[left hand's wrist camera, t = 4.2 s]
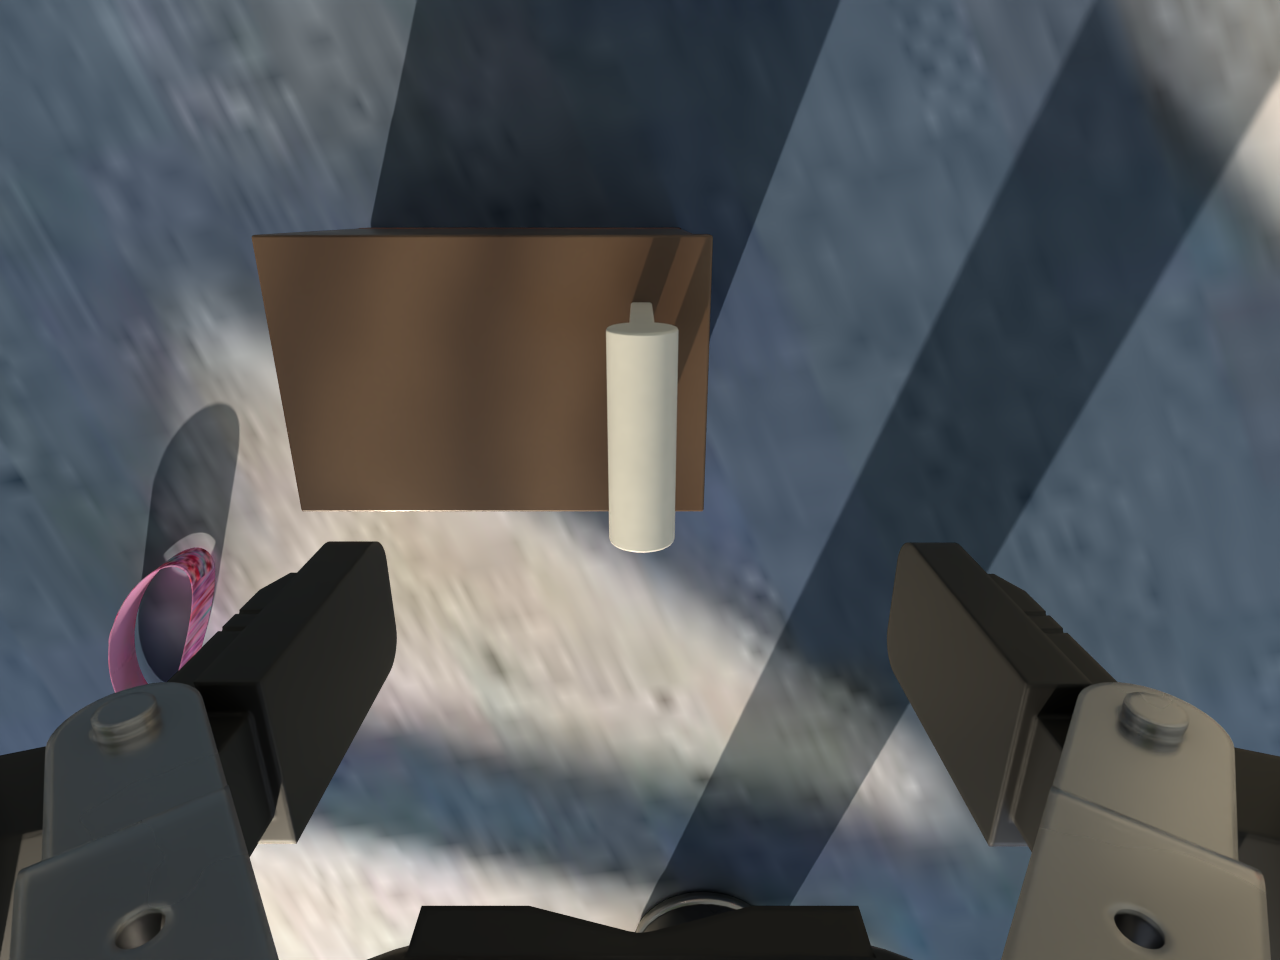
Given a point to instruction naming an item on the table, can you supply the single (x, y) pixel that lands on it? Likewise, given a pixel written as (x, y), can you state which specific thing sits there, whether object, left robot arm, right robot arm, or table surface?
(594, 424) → the lid
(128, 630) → the pink hollow oval piece
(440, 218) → the table surface
